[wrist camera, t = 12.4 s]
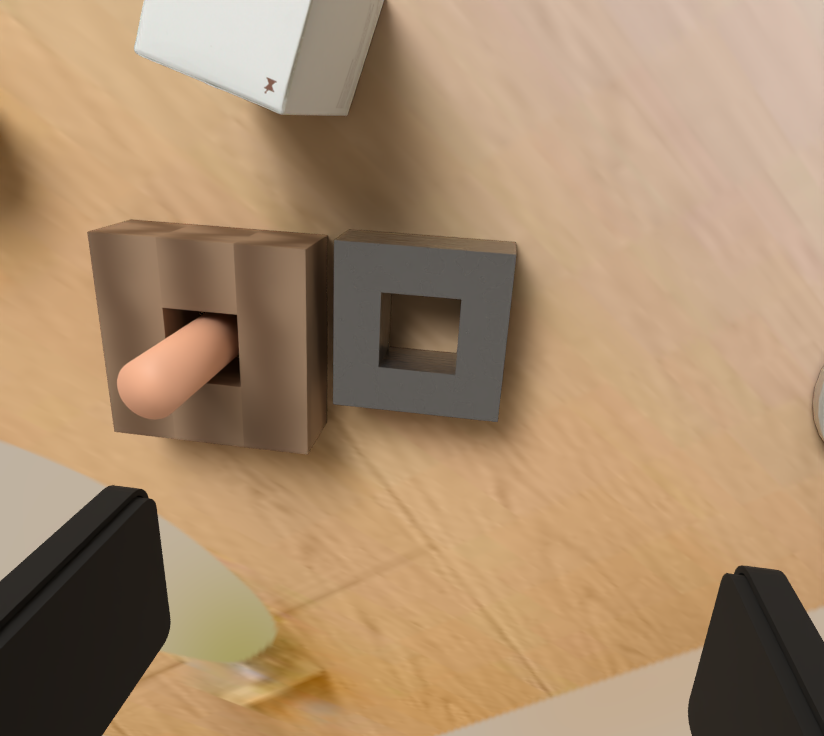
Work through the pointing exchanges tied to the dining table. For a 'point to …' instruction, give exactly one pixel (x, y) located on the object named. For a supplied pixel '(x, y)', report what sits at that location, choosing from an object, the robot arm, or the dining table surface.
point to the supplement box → (265, 48)
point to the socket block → (230, 294)
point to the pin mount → (411, 368)
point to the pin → (178, 365)
